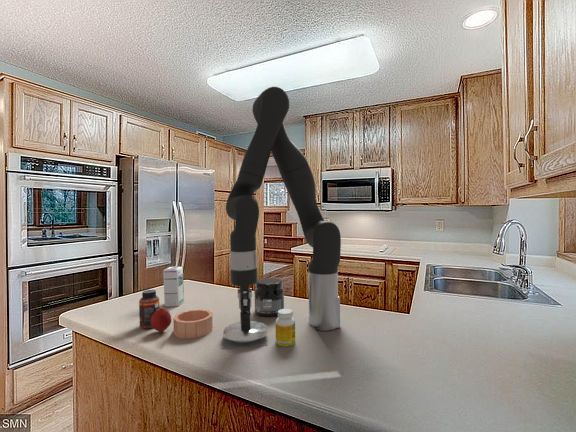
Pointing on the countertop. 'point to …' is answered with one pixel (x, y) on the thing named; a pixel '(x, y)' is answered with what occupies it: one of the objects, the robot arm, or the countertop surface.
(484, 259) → the countertop surface
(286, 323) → the supplement bottle
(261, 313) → the supplement container
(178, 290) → the syrup box
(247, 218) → the robot arm
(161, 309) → the onion
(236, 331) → the lid
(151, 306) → the supplement bottle
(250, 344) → the mat
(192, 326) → the bowl
